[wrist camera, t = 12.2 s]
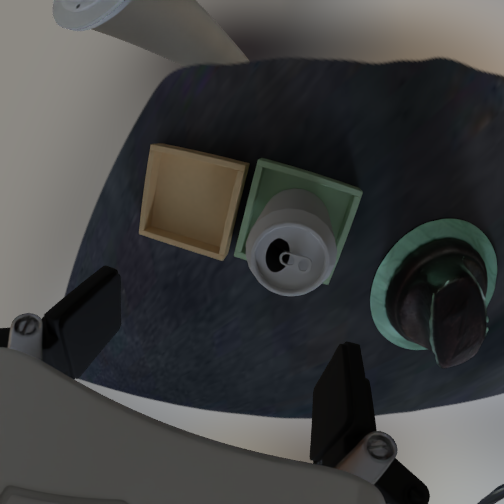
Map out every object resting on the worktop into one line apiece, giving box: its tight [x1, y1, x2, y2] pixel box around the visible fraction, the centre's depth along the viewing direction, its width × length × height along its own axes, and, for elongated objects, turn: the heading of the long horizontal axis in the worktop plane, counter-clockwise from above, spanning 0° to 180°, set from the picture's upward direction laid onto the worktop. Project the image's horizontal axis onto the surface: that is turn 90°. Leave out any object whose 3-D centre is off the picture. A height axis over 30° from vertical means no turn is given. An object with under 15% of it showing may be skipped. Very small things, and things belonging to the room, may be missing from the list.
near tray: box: [234, 158, 363, 285], centre depth 33 cm, size 11×11×2 cm
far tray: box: [139, 143, 250, 261], centre depth 34 cm, size 11×11×2 cm
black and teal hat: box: [370, 219, 497, 368], centre depth 31 cm, size 15×19×20 cm
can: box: [246, 188, 337, 296], centre depth 28 cm, size 8×8×12 cm
